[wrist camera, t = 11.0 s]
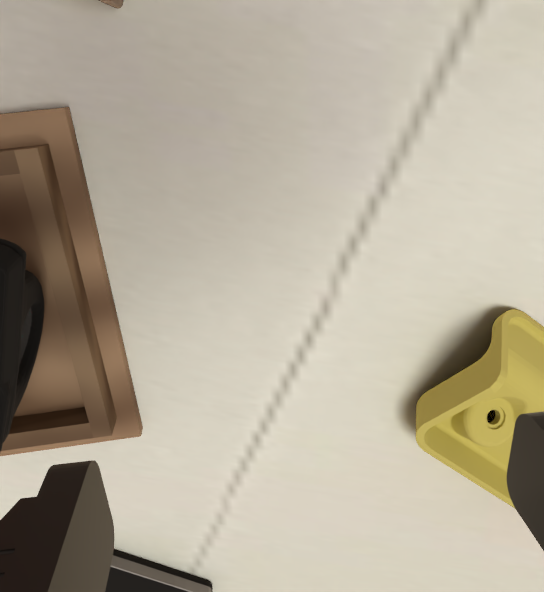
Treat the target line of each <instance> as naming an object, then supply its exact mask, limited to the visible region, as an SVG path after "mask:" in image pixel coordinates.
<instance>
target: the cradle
mask: <svg viewBox="0 0 544 592" xmlns="http://www.w3.org/2000/svg"><path fill="white" fill-rule="evenodd" d="M0 238H1V239H5V240H8V241H10V242H13V243H15V244H17V245H18V246H20V247H21V248H22V249H23V250H24V251H25V252H26V268H25V270H27V271H29V272H31V273H33V274H34V275H35V276H36V277H37V278H38V280H39V282H40V284H41V286H42V292H43V298H44V318H43V328H42V335H41V339H40V344H39V349H38V353H37V357H36V361H35V364H34V367H33V370H32V373H31V376H30V379H29V382H28V385H27V388H26V390H25V393H24V395H23V397H22V400H21V402H20V404H19V406H18V408H17V410H16V412H15V414H14V417H13V419H12V424H11V428H10V431H9V435H8V436H7V438H6V440H5V441H4V442H3V445H2V449H1V452H0V456H5V455H12V454H19V453H26V452H33V451H40V450H47V449H54V448H61V447H68V446H75V445H82V444H89V443H96V442H103V441H110V440H117V439H124V438H131V437H139V436H141V433H142V429H143V427H142V422H141V418H140V414H139V409H138V405H137V401H136V396H135V392H134V388H133V383H132V379H131V375H130V370H129V366H128V361H127V357H126V353H125V348H124V344H123V340H122V335H121V331H120V327H119V322H118V318H117V314H116V309H115V305H114V301H113V296H112V292H111V288H110V283H109V279H108V274H107V270H106V266H105V261H104V257H103V253H102V248H101V244H100V240H99V235H98V231H97V227H96V222H95V218H94V214H93V209H92V205H91V200H90V196H89V192H88V187H87V183H86V179H85V174H84V170H83V166H82V161H81V157H80V153H79V148H78V144H77V140H76V135H75V131H74V127H73V122H72V118H71V113H70V109H69V107H65V108H55V109H45V110H36V111H26V112H16V113H6V114H0Z"/></svg>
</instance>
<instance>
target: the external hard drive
mask: <svg viewBox="0 0 544 592" xmlns="http://www.w3.org/2000/svg"><path fill="white" fill-rule="evenodd" d="M105 592H212V584H211V583H210V582H209V581H208V580H205V579H202V578H199V577H196V576H193V575H190V574H187V573H184V572H181V571H177V570H174V569H171V568H168V567H165V566H162V565H159V564H156V563H153V562H150V561H147V560H144V559H141V558H138V557H135V556H132V555H129V554H126V553H123V552H120V551H117V550H113V557H112V562H111V566H110V571H109V576H108V580H107V585H106V590H105Z"/></svg>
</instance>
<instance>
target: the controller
mask: <svg viewBox="0 0 544 592" xmlns="http://www.w3.org/2000/svg"><path fill="white" fill-rule="evenodd" d="M25 268H26V252H25V251H24V250H23V249H22V248H21V247H20V246H18V245H17V244H15V243H13V242H10V241H8V240H5V239H1V238H0V452H1V449H2V445H3V442H4V441H5V440H6V438H7V436H8V435H9V431H10V428H11V424H12V419H13V417H14V414H15V412H16V410H17V408H18V406H19V404H20V402H21V400H22V397H23V395H24V393H25V390H26V388H27V385H28V382H29V379H30V376H31V373H32V370H33V367H34V364H35V361H36V357H37V353H38V349H39V344H40V339H41V335H42V328H43V318H44V298H43V292H42V286H41V284H40V282H39V280H38V278H37V277H36V276H35V275H34V274H33V273H31V272H29V271H27V270H25Z"/></svg>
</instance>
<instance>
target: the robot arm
mask: <svg viewBox="0 0 544 592" xmlns="http://www.w3.org/2000/svg"><path fill="white" fill-rule="evenodd" d="M507 487H508V492H509V495H510V498H511V500H512V503H513V505H514V507H515V508H516V510H517V512H518V513H519V515H520V516H521V517H522V519H523V520H524V522H525V523H526V525H527V526H528V528H529V529H530V531H531V532H532V534H533V535H534V537H535V538H536V540H537V541H538V543H539V544H540V546H541V547H542V549H543V550H544V411H543V412H534V413H525V414H520V415H519V416H518V417H517V419H516V422H515V427H514V433H513V439H512V445H511V451H510V457H509V463H508V469H507ZM113 550H114V526H113V520H112V516H111V512H110V508H109V504H108V500H107V496H106V492H105V489H104V485H103V481H102V477H101V473H100V469H99V466H98V464H97V463H96V461H85V462H76V463H67V464H58V465H53V466H51V467H50V468H49V470H48V472H47V474H46V476H45V479H44V481H43V483H42V486H41V488H40V491H39V493H38V495H37V497H31V498H22V499H20V500H19V501H18V502H17V503H16V504H15V505H14V506H13V508H12V509H11V510H10V511H9V512H8V513H7V514H6V515H5V516H4V517H3V518H2V519H1V520H0V592H105V590H106V585H107V580H108V576H109V571H110V566H111V562H112V557H113Z"/></svg>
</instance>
